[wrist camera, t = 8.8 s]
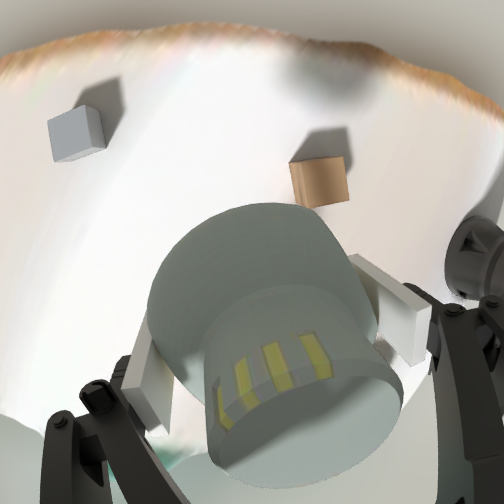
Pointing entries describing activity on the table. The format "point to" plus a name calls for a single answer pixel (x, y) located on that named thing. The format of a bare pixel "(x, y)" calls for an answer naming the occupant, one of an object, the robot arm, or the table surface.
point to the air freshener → (274, 345)
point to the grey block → (76, 134)
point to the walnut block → (319, 181)
